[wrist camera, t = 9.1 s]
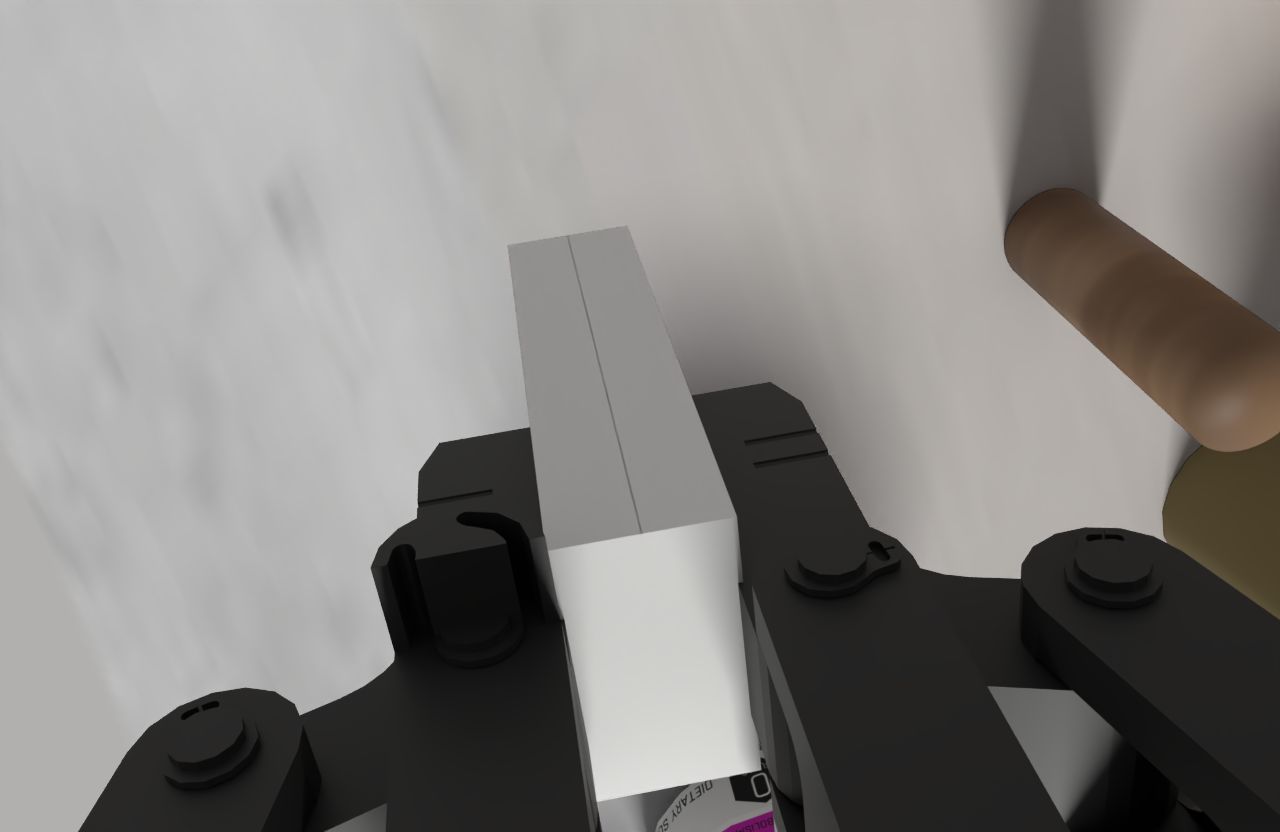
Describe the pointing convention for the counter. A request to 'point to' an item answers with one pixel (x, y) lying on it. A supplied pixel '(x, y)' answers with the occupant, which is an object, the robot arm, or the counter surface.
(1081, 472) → the counter surface
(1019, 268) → the post
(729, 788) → the supplement can
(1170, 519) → the cork
